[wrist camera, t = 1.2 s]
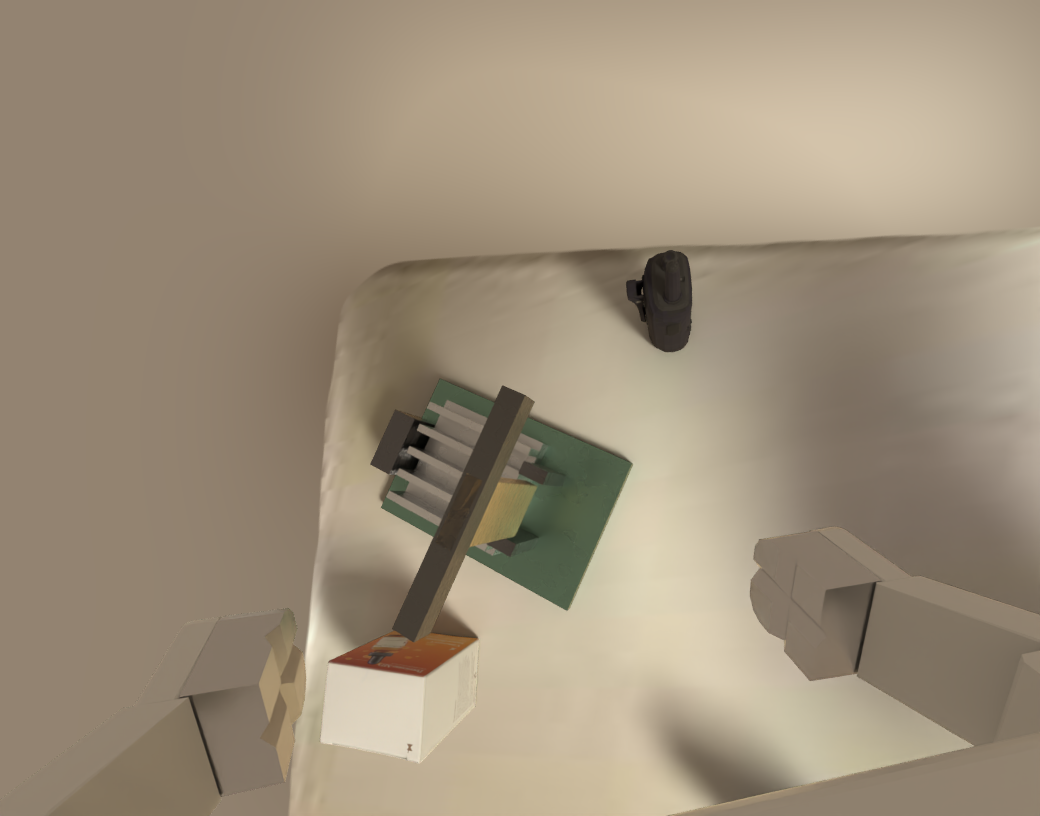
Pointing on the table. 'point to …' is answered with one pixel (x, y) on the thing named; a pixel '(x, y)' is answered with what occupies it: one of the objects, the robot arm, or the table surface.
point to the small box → (400, 694)
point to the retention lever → (472, 514)
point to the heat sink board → (546, 507)
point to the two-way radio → (665, 299)
